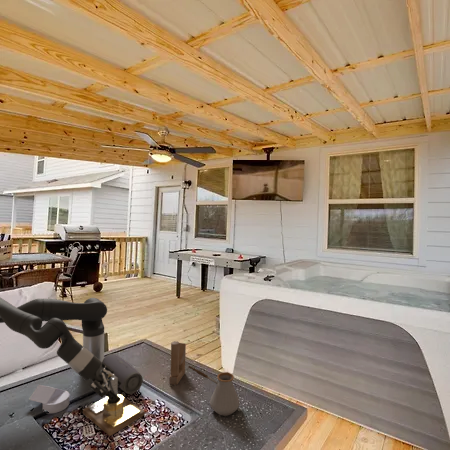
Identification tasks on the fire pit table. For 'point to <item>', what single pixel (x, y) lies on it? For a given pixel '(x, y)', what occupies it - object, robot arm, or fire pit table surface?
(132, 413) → the hinge
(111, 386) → the pin
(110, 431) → the board
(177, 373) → the wooden block
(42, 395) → the wedge on round base
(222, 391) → the coffee pot
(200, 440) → the fire pit table surface
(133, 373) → the bluetooth speaker
